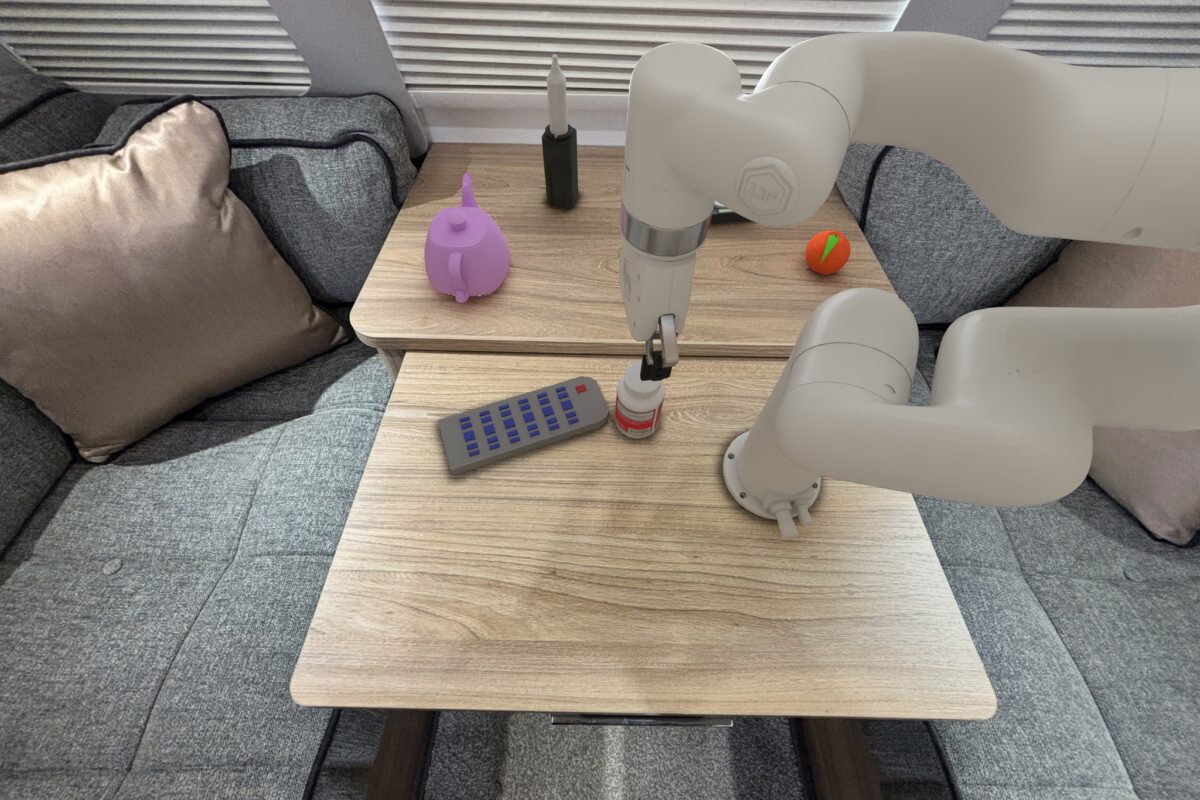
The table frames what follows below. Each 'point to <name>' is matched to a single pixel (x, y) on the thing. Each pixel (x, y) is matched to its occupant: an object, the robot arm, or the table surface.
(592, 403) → the remote control
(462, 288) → the teapot
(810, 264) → the clementine
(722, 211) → the scale
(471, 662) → the table surface
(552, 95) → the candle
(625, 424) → the pill bottle
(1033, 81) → the robot arm
